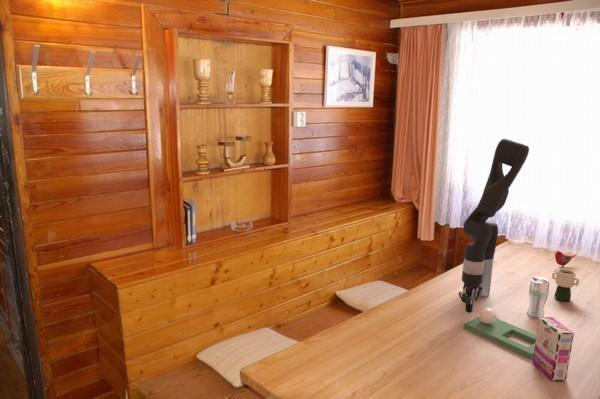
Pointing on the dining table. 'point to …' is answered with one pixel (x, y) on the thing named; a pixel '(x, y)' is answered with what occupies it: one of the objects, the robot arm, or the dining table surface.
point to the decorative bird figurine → (562, 258)
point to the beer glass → (538, 296)
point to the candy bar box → (553, 348)
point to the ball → (487, 316)
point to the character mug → (564, 283)
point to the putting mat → (503, 335)
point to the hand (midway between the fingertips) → (468, 311)
